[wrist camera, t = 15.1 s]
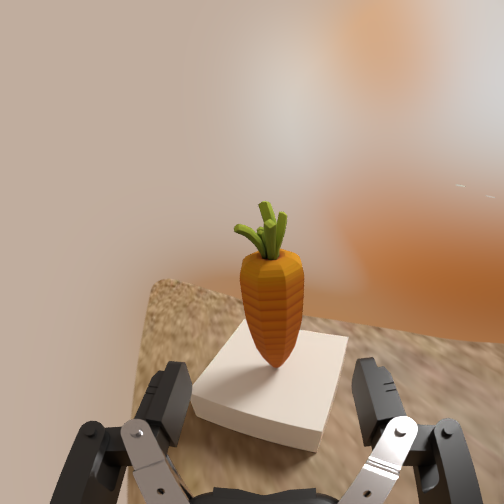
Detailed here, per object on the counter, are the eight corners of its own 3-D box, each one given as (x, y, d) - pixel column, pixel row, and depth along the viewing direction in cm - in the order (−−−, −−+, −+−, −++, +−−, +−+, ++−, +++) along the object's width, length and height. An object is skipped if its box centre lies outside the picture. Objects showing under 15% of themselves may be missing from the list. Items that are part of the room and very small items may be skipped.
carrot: (292, 392, 22) (290, 217, 16) (240, 377, 24) (216, 213, 18) (309, 355, 26) (312, 198, 20) (263, 344, 28) (250, 196, 22)
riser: (343, 363, 29) (348, 337, 28) (317, 452, 19) (322, 431, 18) (247, 344, 34) (244, 319, 32) (196, 416, 24) (187, 391, 22)
